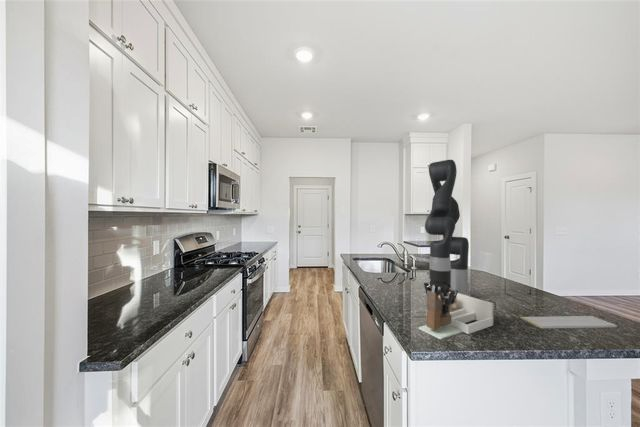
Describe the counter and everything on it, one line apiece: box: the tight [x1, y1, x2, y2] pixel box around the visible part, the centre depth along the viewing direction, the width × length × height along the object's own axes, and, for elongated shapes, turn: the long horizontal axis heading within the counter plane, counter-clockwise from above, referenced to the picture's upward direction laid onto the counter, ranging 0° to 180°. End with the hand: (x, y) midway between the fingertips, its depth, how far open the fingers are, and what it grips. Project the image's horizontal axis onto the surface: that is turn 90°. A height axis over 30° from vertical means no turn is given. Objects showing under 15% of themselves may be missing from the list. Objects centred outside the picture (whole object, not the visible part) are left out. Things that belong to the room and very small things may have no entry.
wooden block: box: [425, 281, 451, 330], centre depth 100 cm, size 4×11×18 cm, turn 121°
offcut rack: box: [425, 293, 494, 335], centre depth 110 cm, size 16×19×9 cm
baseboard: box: [519, 312, 618, 329], centre depth 109 cm, size 31×3×12 cm
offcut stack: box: [438, 295, 458, 312], centre depth 115 cm, size 9×5×9 cm, turn 118°
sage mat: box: [418, 324, 463, 340], centre depth 101 cm, size 12×10×1 cm
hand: (439, 312), depth 101 cm, fingers closed on wooden block, 3 cm apart
